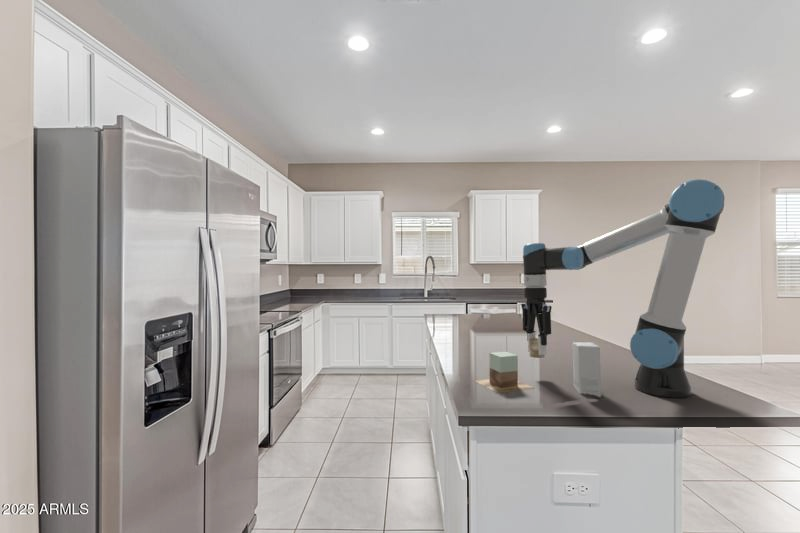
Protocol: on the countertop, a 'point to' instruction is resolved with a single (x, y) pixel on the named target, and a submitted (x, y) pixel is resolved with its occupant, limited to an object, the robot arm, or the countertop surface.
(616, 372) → the countertop surface
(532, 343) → the oak cylinder
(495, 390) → the light wood square board
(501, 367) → the sage mid block
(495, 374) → the walnut base block
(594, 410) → the countertop surface
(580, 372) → the skincare box
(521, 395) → the countertop surface
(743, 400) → the countertop surface
